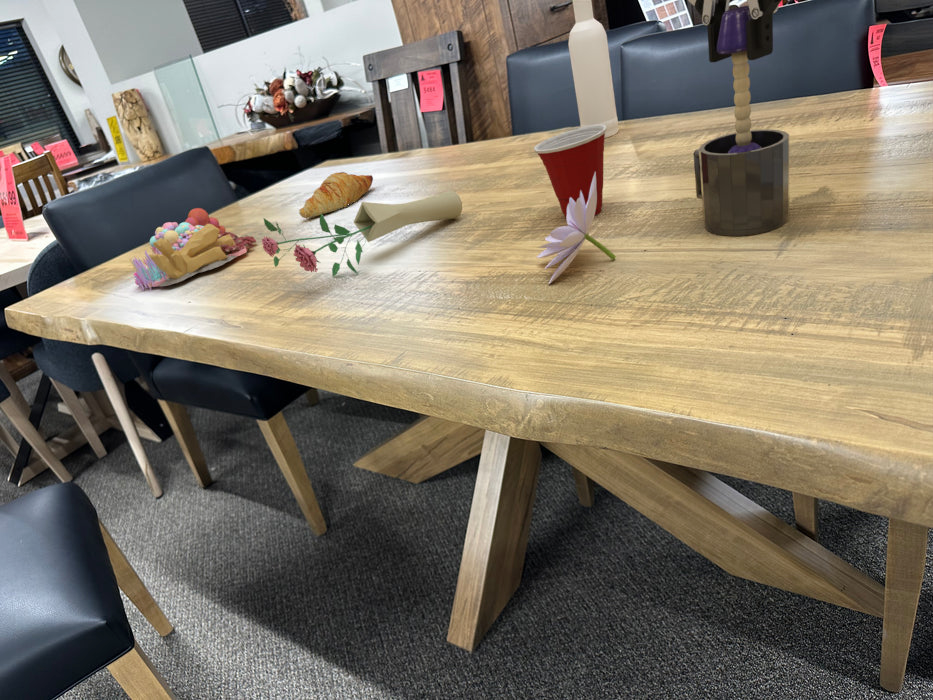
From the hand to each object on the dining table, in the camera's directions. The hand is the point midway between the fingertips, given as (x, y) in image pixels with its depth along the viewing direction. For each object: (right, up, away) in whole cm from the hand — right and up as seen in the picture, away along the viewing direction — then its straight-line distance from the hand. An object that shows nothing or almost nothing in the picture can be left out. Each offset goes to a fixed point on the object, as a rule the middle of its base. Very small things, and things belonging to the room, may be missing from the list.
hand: (740, 56), depth 71 cm
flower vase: (-44, -18, +32) cm, 57 cm away
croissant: (-59, -1, +71) cm, 92 cm away
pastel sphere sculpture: (-85, -16, +56) cm, 103 cm away
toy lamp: (+3, -10, +6) cm, 12 cm away
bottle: (-1, +14, +68) cm, 70 cm away
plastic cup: (-13, -12, +27) cm, 32 cm away
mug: (+4, -16, +10) cm, 20 cm away
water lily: (-17, -22, +11) cm, 29 cm away
